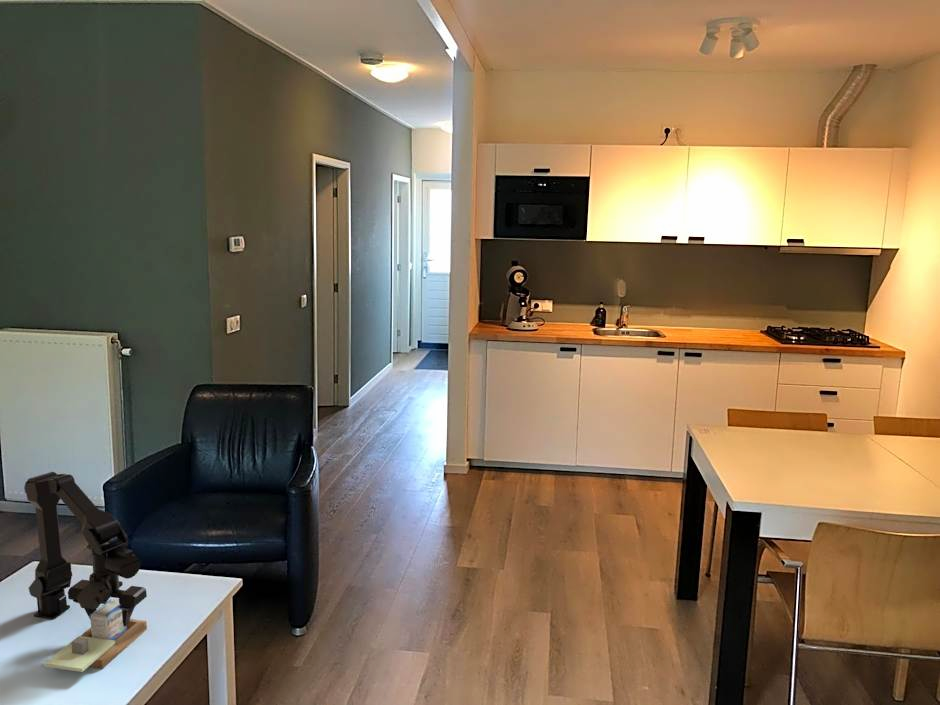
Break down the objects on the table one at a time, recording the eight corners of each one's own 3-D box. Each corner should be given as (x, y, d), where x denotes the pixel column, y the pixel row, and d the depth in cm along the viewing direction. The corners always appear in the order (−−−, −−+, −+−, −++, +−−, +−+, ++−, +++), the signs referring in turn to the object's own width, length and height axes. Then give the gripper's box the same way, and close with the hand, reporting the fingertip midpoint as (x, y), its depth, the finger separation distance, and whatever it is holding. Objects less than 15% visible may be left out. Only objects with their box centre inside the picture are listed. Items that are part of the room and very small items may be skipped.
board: (58, 662, 185) (57, 653, 184) (106, 623, 202) (105, 615, 202) (102, 669, 183) (101, 660, 182) (146, 629, 200) (146, 621, 200)
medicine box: (107, 647, 190) (105, 616, 189) (91, 645, 191) (89, 613, 190) (127, 630, 198) (125, 600, 196) (112, 628, 199) (109, 598, 197)
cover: (44, 666, 179) (43, 651, 178) (79, 638, 190) (78, 624, 190) (82, 671, 177) (81, 657, 176) (115, 643, 189) (114, 629, 188)
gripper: (49, 578, 185) (54, 636, 188) (118, 586, 182) (122, 645, 184) (81, 557, 196) (85, 613, 199) (146, 565, 192) (149, 621, 195)
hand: (109, 623), depth 194 cm, fingers open, 9 cm apart
